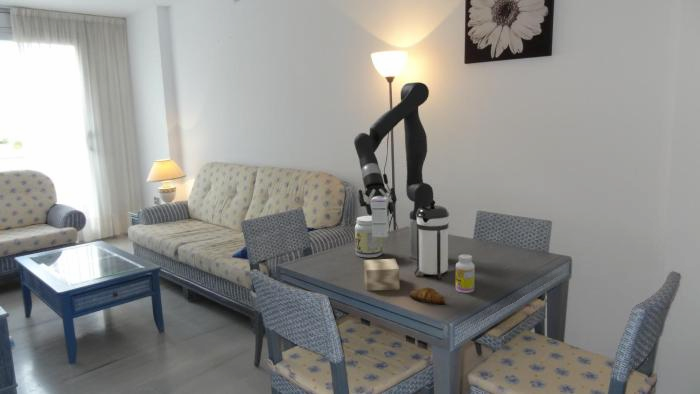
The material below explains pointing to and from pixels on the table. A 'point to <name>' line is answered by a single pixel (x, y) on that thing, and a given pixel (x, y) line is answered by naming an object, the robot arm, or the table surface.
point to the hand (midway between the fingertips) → (381, 213)
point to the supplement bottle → (465, 274)
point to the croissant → (428, 296)
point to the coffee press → (432, 240)
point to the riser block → (381, 274)
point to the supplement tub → (366, 239)
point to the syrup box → (380, 216)
